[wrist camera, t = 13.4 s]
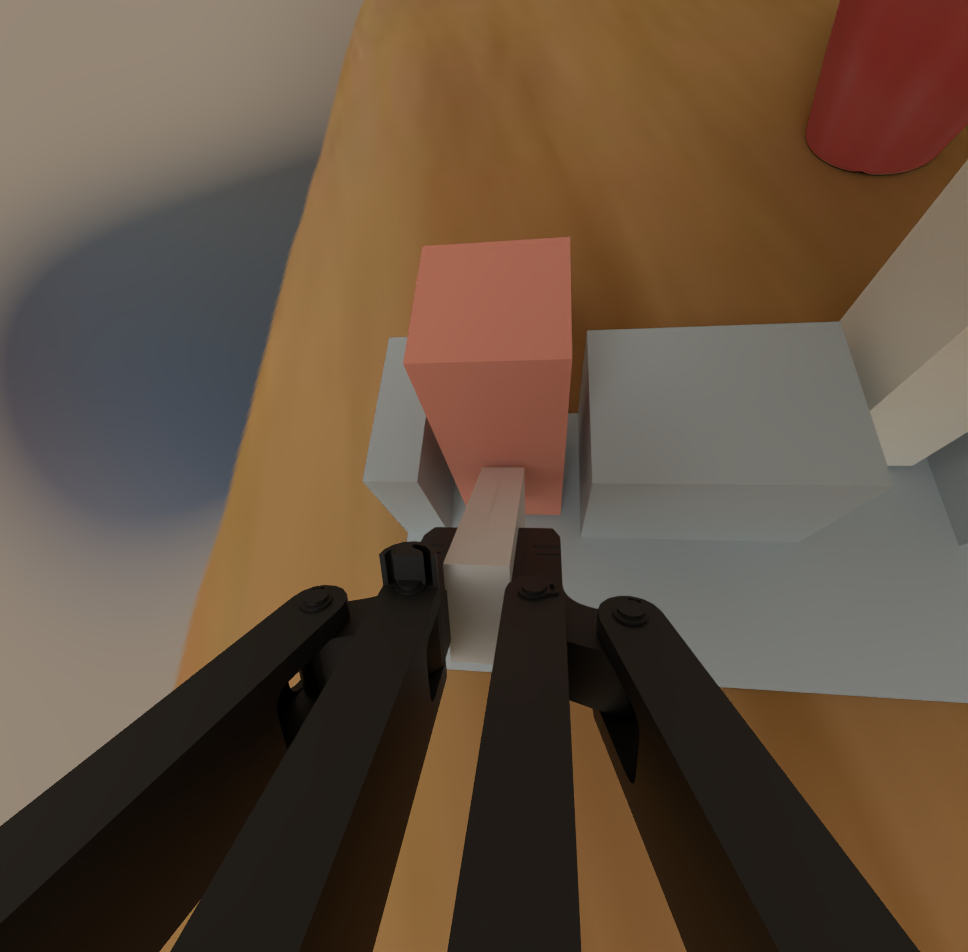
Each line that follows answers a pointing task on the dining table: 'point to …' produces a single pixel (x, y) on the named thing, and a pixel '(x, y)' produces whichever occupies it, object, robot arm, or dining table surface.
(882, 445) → the cream plug
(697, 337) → the slot block
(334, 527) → the dining table surface
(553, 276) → the red plug
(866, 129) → the flower pot
